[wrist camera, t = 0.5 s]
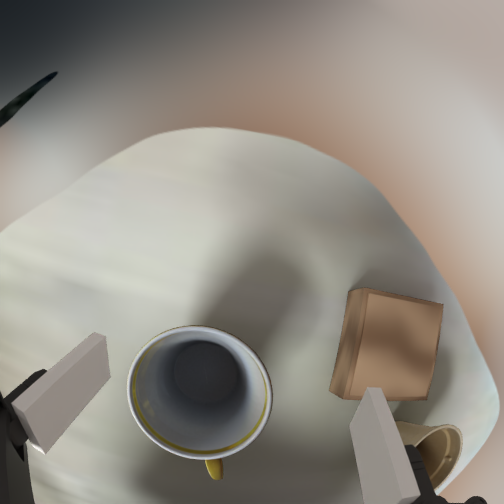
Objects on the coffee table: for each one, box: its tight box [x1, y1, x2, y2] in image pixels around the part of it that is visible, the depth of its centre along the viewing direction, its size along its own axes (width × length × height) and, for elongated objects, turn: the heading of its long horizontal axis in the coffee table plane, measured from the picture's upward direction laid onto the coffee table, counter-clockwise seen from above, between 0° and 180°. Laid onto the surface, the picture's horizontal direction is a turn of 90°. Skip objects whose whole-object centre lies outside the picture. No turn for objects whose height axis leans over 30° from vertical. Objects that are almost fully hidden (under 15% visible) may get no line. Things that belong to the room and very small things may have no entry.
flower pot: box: [395, 421, 463, 491], centre depth 22 cm, size 9×9×9 cm
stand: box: [329, 287, 443, 401], centre depth 27 cm, size 11×11×4 cm
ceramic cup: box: [127, 325, 273, 480], centre depth 22 cm, size 13×10×10 cm
